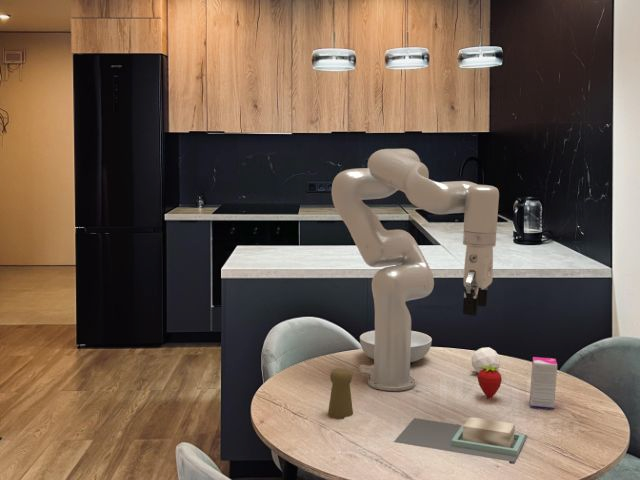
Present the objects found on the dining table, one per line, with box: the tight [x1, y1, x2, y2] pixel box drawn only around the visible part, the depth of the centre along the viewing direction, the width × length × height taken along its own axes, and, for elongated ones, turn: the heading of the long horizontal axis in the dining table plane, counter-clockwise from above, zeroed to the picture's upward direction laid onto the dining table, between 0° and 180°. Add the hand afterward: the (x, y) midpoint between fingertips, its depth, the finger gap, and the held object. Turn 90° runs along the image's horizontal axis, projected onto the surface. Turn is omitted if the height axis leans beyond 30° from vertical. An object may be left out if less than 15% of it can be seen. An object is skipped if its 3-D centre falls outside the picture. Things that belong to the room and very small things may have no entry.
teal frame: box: [451, 424, 526, 456], centre depth 185 cm, size 14×10×1 cm
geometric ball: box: [471, 347, 501, 374], centre depth 234 cm, size 8×8×8 cm
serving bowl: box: [359, 330, 433, 363], centre depth 247 cm, size 21×21×7 cm
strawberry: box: [477, 363, 503, 400], centre depth 214 cm, size 6×8×10 cm
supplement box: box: [529, 356, 558, 410], centre depth 210 cm, size 6×6×12 cm
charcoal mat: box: [393, 417, 528, 464], centre depth 187 cm, size 26×16×1 cm, turn 68°
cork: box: [327, 368, 354, 420], centre depth 201 cm, size 6×6×11 cm
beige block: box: [462, 416, 516, 448], centre depth 185 cm, size 10×6×4 cm, turn 67°
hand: (474, 310), depth 200 cm, fingers open, 9 cm apart
